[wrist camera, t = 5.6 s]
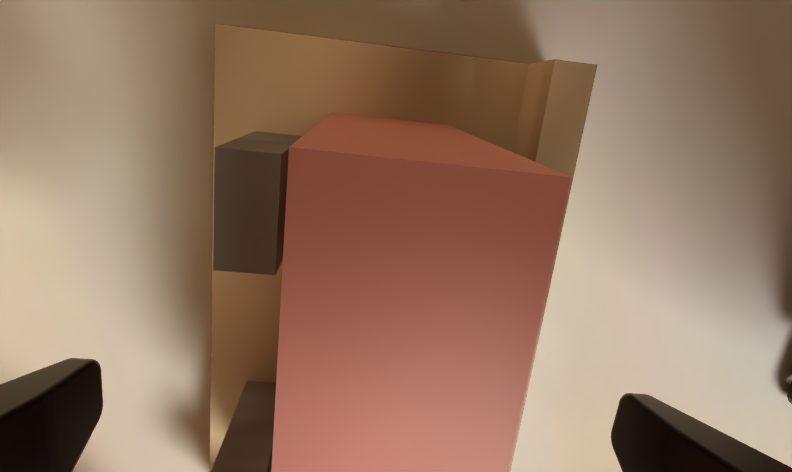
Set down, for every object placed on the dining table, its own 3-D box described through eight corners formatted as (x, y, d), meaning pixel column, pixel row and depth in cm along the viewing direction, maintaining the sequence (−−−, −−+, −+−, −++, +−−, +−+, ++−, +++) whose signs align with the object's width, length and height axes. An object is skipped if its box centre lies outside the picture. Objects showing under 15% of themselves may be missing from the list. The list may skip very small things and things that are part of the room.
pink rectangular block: (332, 112, 10) (288, 146, 4) (449, 125, 11) (572, 177, 4) (305, 466, 13) (252, 818, 7) (400, 471, 13) (435, 815, 7)
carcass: (548, 70, 11) (641, 60, 8) (468, 493, 15) (505, 635, 11) (227, 29, 11) (154, -4, 7) (219, 482, 14) (166, 630, 10)
